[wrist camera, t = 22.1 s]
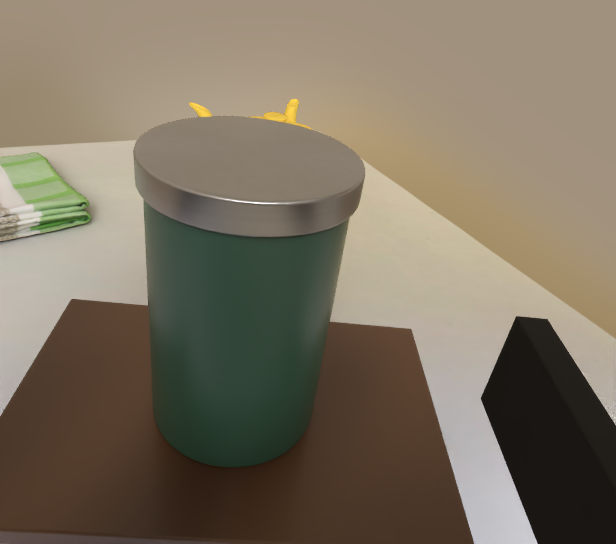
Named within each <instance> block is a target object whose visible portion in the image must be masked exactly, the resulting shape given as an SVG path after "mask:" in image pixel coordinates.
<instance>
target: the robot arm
mask: <svg viewBox="0 0 616 544" xmlns="http://www.w3.org/2000/svg"><path fill="white" fill-rule="evenodd" d="M481 400H482V403H483V405H484V408H485V411H486V413H487V416H488V418H489V421H490V423H491V426H492V428H493V431H494V433H495V436H496V439H497V441H498V444H499V446H500V449H501V451H502V454H503V456H504V459H505V461H506V464H507V467H508V469H509V472H510V474H511V477H512V479H513V482H514V484H515V487H516V489H517V492H518V494H519V497H520V500H521V502H522V505H523V507H524V510H525V512H526V515H527V517H528V520H529V522H530V525H531V528H532V530H533V533H534V535H535V538H536V540H537V543H538V544H616V425H615V424H614V422H613V420H612V419H611V417H610V416H609V414H608V413H607V411H606V410H605V408H604V407H603V405H602V403H601V402H600V400H599V399H598V397H597V396H596V394H595V393H594V391H593V389H592V388H591V386H590V385H589V383H588V382H587V380H586V379H585V377H584V376H583V374H582V372H581V371H580V369H579V368H578V366H577V365H576V363H575V362H574V360H573V358H572V357H571V355H570V354H569V352H568V351H567V349H566V348H565V346H564V344H563V343H562V341H561V340H560V338H559V337H558V335H557V334H556V332H555V331H554V329H553V327H552V326H551V324H550V323H549V321H548V320H547V319H539V318H529V317H518V316H516V318H515V321H514V323H513V325H512V327H511V330H510V332H509V334H508V337H507V339H506V341H505V344H504V346H503V348H502V351H501V353H500V355H499V357H498V360H497V362H496V364H495V367H494V369H493V371H492V374H491V376H490V378H489V381H488V383H487V385H486V387H485V390H484V392H483V394H482V397H481Z"/></svg>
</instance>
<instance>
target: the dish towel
mask: <svg viewBox="0 0 616 544" xmlns="http://www.w3.org/2000/svg"><path fill="white" fill-rule="evenodd" d="M88 206H89V202H88V200H87V199H86V198H85V197H84V196H82V195H81V194H80V193H78V192H76V191H75V190H74V189H73V188H72V187H70V186H69V185H68V184H67V183H66V182H65V181H64V180H62V178H61V177H60V176H59V175H58V174H57V173H56V172H55V170H54V169H53V168H52V166H51V165H50V164H49V162H48V160H47V159H46V158H45V157H43V156H42V155H40V154H39V153H29V154H24V155H16V156H4V157H0V241H5V240H10V239H14V238H19V237H25V236H30V235H33V234H40V233H45V232H50V231H55V230H60V229H63V228H67V227H72V226H76V225H80V224H85V223H88V222H89V221H90V219H91V216H90V214H89V213H88V212H87V211H86V210H84V208H86V207H88Z"/></svg>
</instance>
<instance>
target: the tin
mask: <svg viewBox="0 0 616 544" xmlns="http://www.w3.org/2000/svg"><path fill="white" fill-rule="evenodd" d="M133 151H134V170H135V184H136V187H137V190H138V192H139V194H140V195H141V196H142V198H143V199H144V221H145V243H146V266H147V288H148V310H149V333H150V355H151V377H152V399H153V414H154V419H155V422H156V425H157V427H158V429H159V431H160V432H161V434H162V435H163V437H164V438H165V439H166V440H167V442H168V443H169V444H170V445H171V446H172V447H174V448H175V449H176V450H178V451H179V452H180V453H182V454H184V455H185V456H187V457H189V458H191V459H193V460H196V461H198V462H201V463H205V464H208V465H213V466H219V467H233V468H234V467H247V466H252V465H257V464H261V463H264V462H267V461H270V460H272V459H274V458H276V457H278V456H280V455H282V454H283V453H285V452H287V451H288V450H289V449H290V448H292V447H293V446H294V445H295V444H296V443H297V442H298V441H299V440H300V439H301V437H302V436H303V434H304V433H305V432H306V430H307V428H308V425H309V423H310V420H311V416H312V411H313V406H314V401H315V396H316V390H317V385H318V380H319V375H320V370H321V364H322V359H323V354H324V349H325V343H326V338H327V333H328V328H329V323H330V317H331V312H332V307H333V302H334V296H335V291H336V286H337V281H338V275H339V270H340V265H341V260H342V255H343V249H344V244H345V239H346V234H347V228H348V223H349V218H350V216H351V215H353V213H354V212H355V210H356V209H357V208H358V205H359V202H360V198H361V193H362V188H363V183H364V178H365V167H364V164H363V161H362V160H361V159H360V157H359V156H358V155H357V154H356V153H355V152H354V151H353V150H352V149H350V148H349V147H348V146H346V145H345V144H343V143H341V142H340V141H338V140H336V139H334V138H332V137H329V136H327V135H325V134H322V133H320V132H317V131H314V130H311V129H308V128H305V127H301V126H297V125H293V124H289V123H284V122H279V121H274V120H268V119H260V118H251V117H237V116H236V117H235V116H209V117H197V118H188V119H182V120H177V121H173V122H168V123H166V124H162V125H159V126H157V127H154V128H152V129H150V130H149V131H147V132H145V133H144V134H143V135H142V136H141V137H140V138H139V139H138V140H137V142H136V144H135V147H134V150H133Z"/></svg>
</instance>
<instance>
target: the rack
mask: <svg viewBox="0 0 616 544" xmlns="http://www.w3.org/2000/svg"><path fill="white" fill-rule="evenodd" d="M0 544H474V542H473V538H472V535H471V531H470V528H469V525H468V521H467V518H466V514H465V511H464V508H463V504H462V501H461V497H460V494H459V490H458V487H457V484H456V480H455V477H454V473H453V470H452V467H451V463H450V460H449V456H448V453H447V449H446V446H445V443H444V439H443V436H442V432H441V429H440V426H439V422H438V419H437V415H436V412H435V408H434V405H433V402H432V398H431V395H430V391H429V388H428V385H427V381H426V378H425V374H424V371H423V367H422V364H421V361H420V357H419V354H418V350H417V347H416V344H415V340H414V337H413V333H412V330H411V329H405V328H394V327H383V326H372V325H360V324H349V323H338V322H330V323H329V328H328V333H327V338H326V343H325V349H324V354H323V359H322V364H321V370H320V375H319V380H318V385H317V390H316V396H315V401H314V406H313V411H312V416H311V420H310V423H309V425H308V428H307V430H306V432H305V433H304V434H303V436H302V437H301V439H300V440H299V441H298V442H297V443H296V444H295V445H294V446H293V447H292V448H290V449H289V450H288V451H287V452H285V453H283V454H282V455H280V456H278V457H276V458H274V459H272V460H270V461H267V462H264V463H261V464H257V465H252V466H247V467H234V468H233V467H219V466H213V465H208V464H205V463H201V462H198V461H196V460H193V459H191V458H189V457H187V456H185V455H184V454H182V453H180V452H179V451H178V450H176V449H175V448H174V447H172V446H171V445H170V444H169V443H168V442H167V440H166V439H165V438H164V437H163V435H162V434H161V432H160V431H159V429H158V427H157V425H156V422H155V419H154V414H153V399H152V377H151V355H150V333H149V310H148V306H146V305H134V304H123V303H112V302H100V301H89V300H78V299H72V300H71V301H70V302H69V304H68V306H67V307H66V309H65V311H64V312H63V314H62V316H61V317H60V319H59V321H58V322H57V324H56V326H55V327H54V329H53V330H52V332H51V334H50V335H49V337H48V339H47V340H46V342H45V344H44V345H43V347H42V349H41V350H40V352H39V354H38V355H37V357H36V358H35V360H34V362H33V363H32V365H31V367H30V368H29V370H28V372H27V373H26V375H25V377H24V378H23V380H22V382H21V383H20V385H19V387H18V388H17V390H16V391H15V393H14V395H13V396H12V398H11V400H10V401H9V403H8V405H7V406H6V408H5V410H4V411H3V413H2V415H1V416H0Z"/></svg>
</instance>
